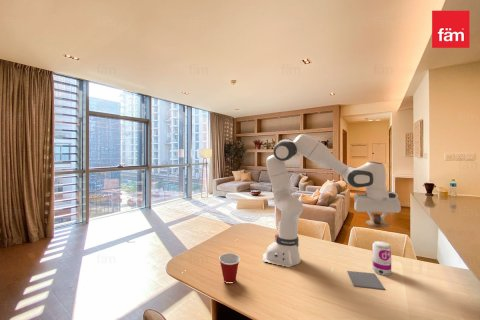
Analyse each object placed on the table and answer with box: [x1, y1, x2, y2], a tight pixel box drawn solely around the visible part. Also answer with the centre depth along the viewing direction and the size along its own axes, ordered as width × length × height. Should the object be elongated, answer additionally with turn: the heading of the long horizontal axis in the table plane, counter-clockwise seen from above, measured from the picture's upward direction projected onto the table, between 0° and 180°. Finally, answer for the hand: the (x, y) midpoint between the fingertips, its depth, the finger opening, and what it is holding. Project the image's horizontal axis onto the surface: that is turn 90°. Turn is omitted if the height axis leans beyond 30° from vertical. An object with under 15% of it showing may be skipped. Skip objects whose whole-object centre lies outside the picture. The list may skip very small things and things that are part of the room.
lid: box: [365, 213, 390, 229], centre depth 110 cm, size 10×10×5 cm
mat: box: [346, 270, 386, 291], centre depth 106 cm, size 13×13×1 cm
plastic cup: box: [218, 252, 241, 283], centre depth 108 cm, size 11×11×12 cm
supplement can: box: [371, 240, 392, 276], centre depth 113 cm, size 8×8×15 cm
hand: (377, 220), depth 110 cm, fingers closed on lid, 3 cm apart
